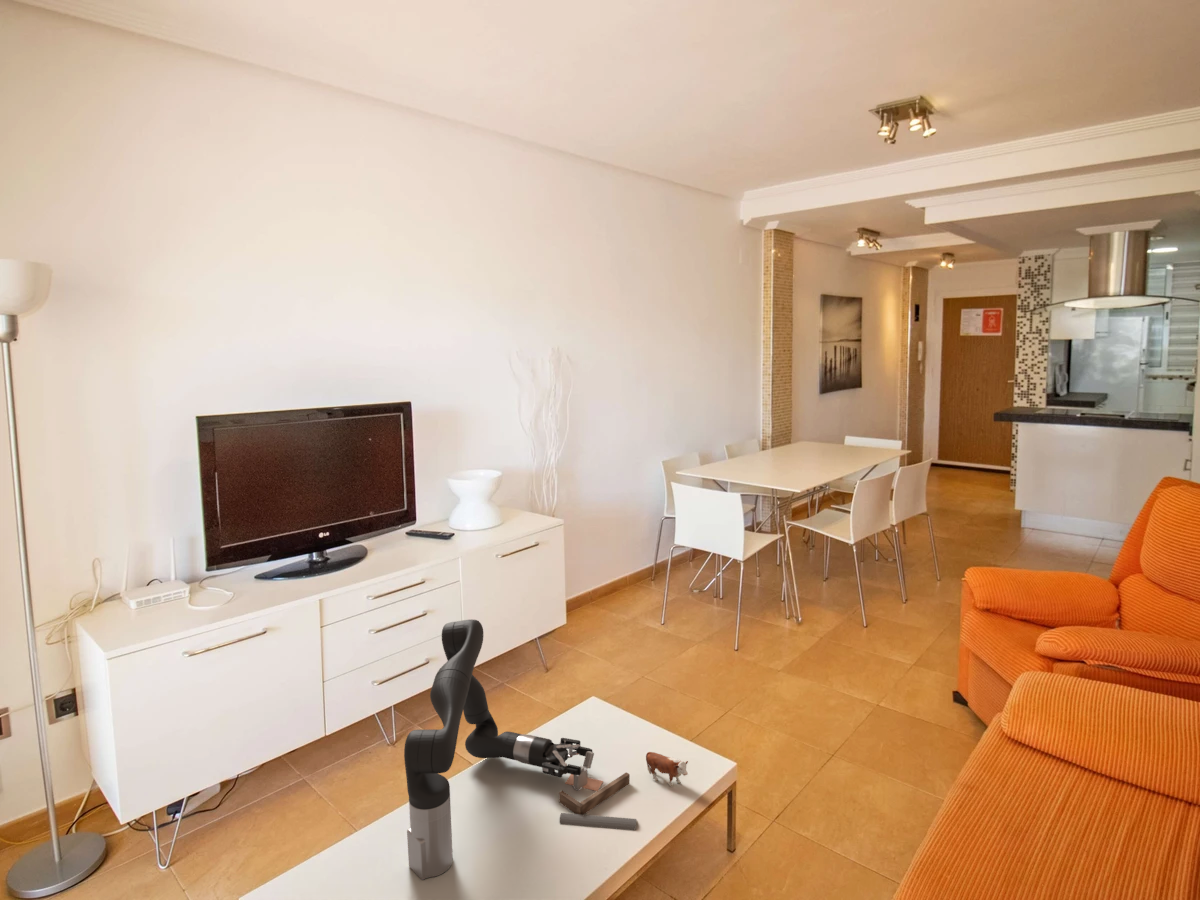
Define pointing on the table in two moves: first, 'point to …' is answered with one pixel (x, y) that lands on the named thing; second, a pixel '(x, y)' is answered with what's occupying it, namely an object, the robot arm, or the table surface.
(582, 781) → the lighter
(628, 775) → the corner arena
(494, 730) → the robot arm
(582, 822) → the gray half cylinder
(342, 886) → the table surface
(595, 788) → the pad
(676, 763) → the bull figurine
